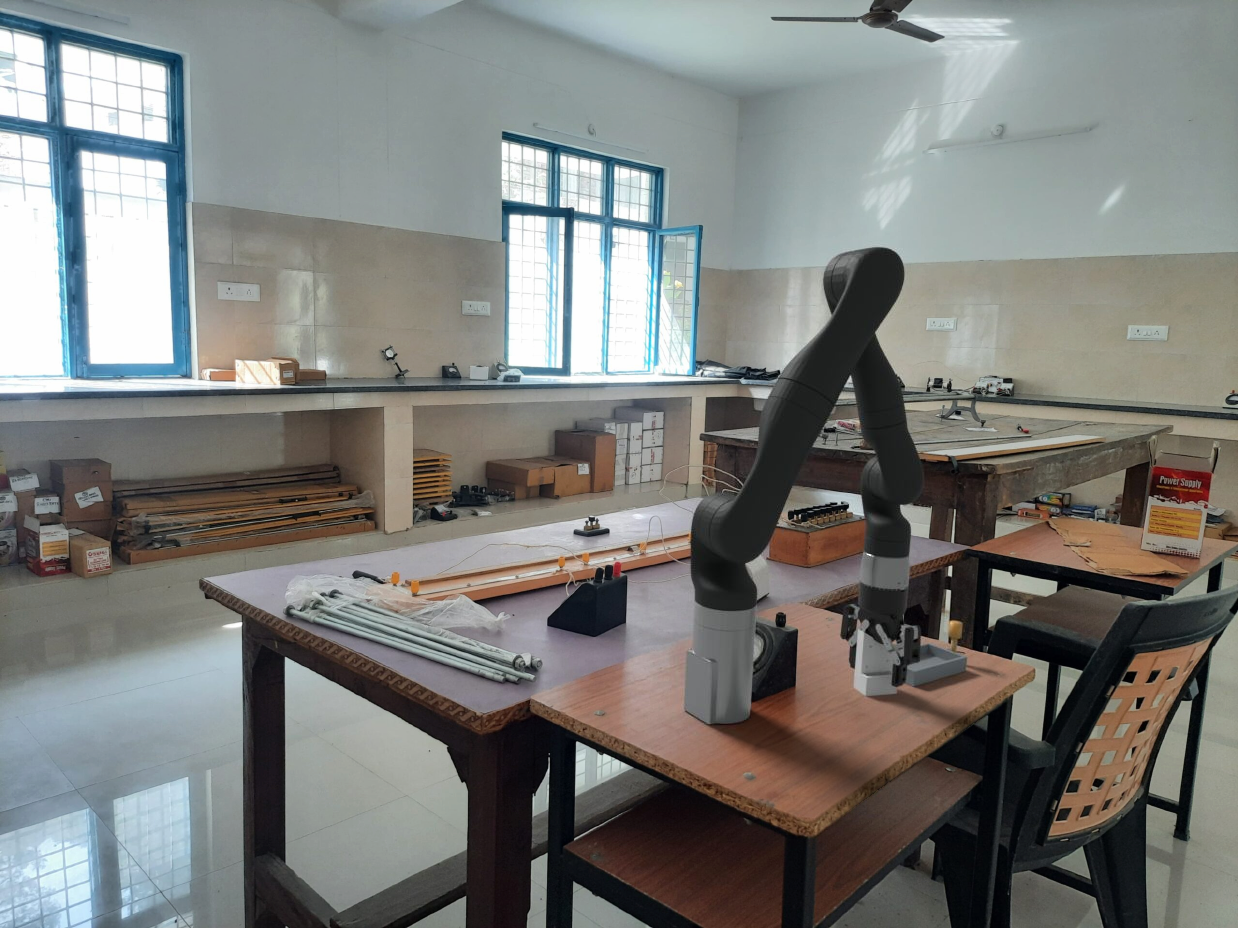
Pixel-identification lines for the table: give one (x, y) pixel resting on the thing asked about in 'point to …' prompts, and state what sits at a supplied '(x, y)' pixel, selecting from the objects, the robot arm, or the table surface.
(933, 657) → the shallow grey tray
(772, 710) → the table surface
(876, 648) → the white angled block
